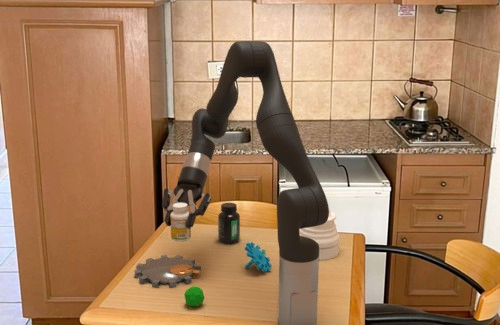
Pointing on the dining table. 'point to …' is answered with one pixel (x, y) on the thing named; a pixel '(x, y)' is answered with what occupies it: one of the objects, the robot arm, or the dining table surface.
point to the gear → (257, 257)
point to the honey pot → (324, 237)
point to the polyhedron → (194, 296)
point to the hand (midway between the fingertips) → (177, 226)
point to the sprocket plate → (167, 271)
